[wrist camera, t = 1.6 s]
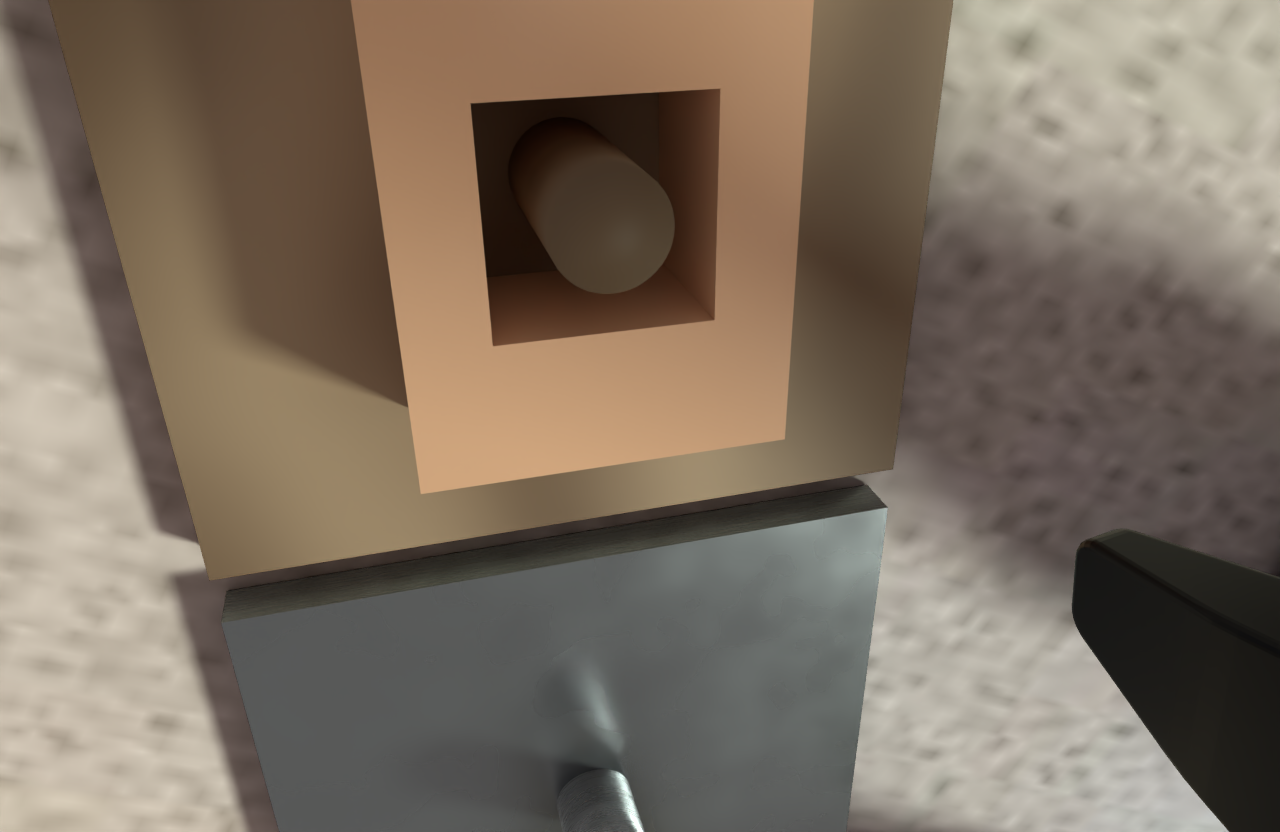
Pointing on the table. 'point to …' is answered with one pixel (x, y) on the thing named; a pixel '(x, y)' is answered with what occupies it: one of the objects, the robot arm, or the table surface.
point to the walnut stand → (513, 244)
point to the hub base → (575, 678)
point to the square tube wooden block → (546, 301)
